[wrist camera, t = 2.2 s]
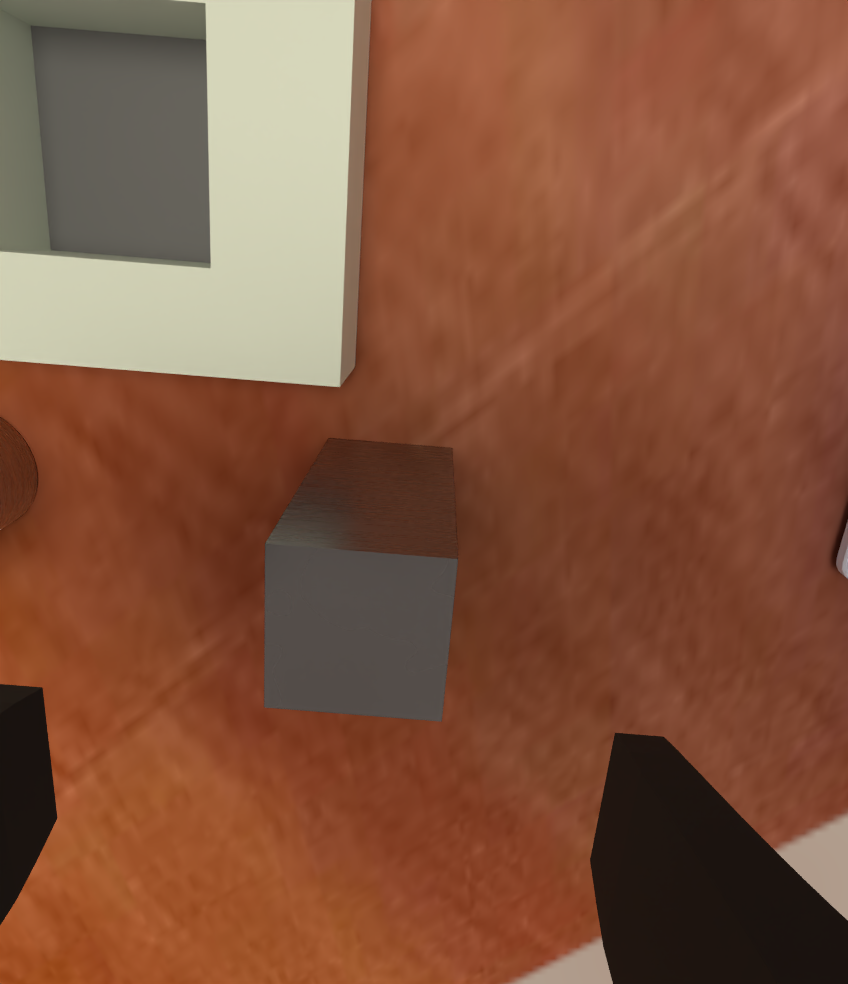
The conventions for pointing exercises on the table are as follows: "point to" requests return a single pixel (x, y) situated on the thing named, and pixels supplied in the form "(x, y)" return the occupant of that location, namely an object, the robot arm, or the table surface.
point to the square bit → (363, 583)
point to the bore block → (183, 185)
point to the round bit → (15, 475)
